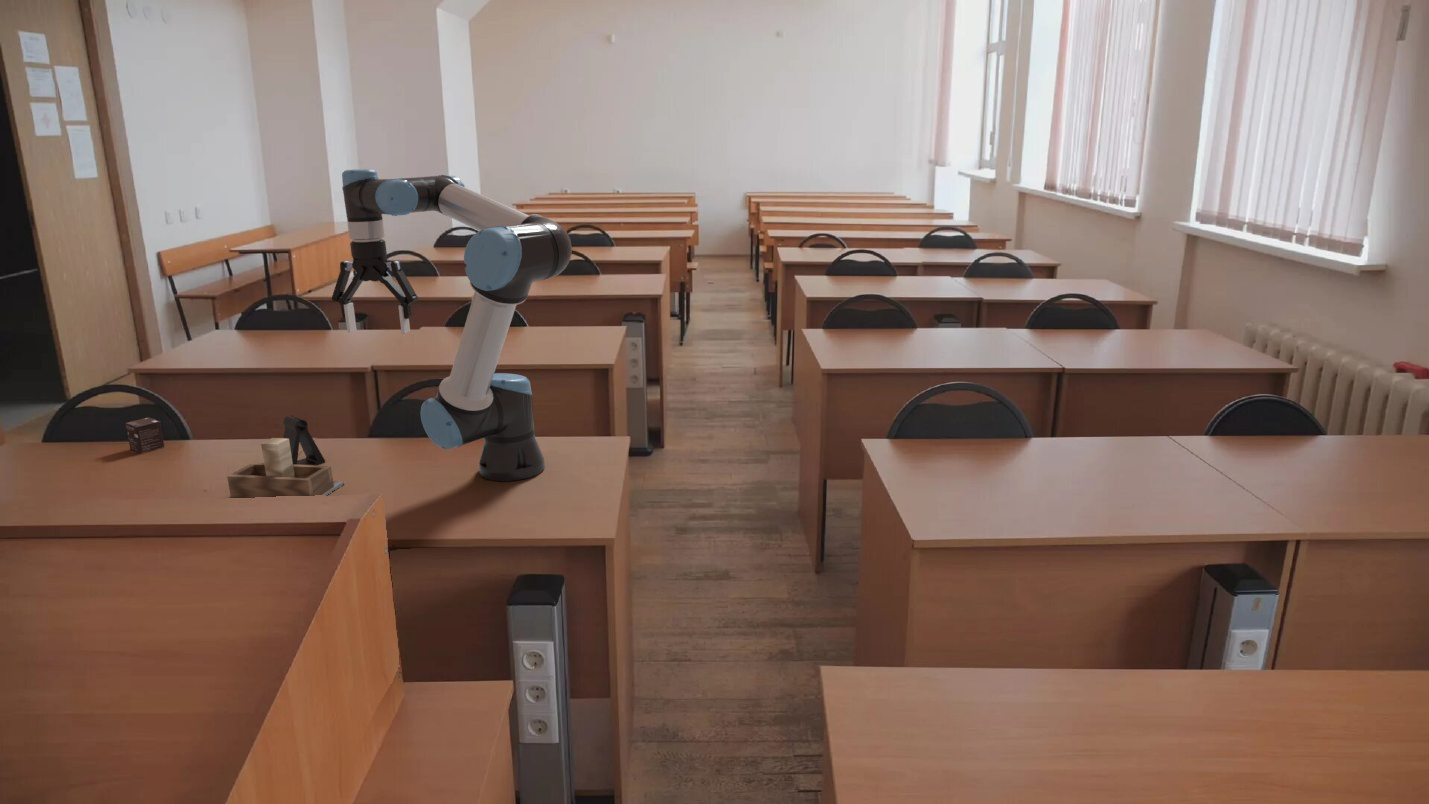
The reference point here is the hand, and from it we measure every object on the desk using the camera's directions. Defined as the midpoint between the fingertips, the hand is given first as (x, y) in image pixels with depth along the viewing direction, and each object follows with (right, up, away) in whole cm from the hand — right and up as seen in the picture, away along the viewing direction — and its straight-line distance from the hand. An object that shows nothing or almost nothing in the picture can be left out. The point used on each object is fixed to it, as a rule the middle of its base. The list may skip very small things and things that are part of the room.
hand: (378, 332), depth 218 cm
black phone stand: (-22, -32, +11) cm, 40 cm away
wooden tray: (-18, -37, -9) cm, 42 cm away
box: (-69, -29, +25) cm, 78 cm away
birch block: (-18, -36, -9) cm, 42 cm away
